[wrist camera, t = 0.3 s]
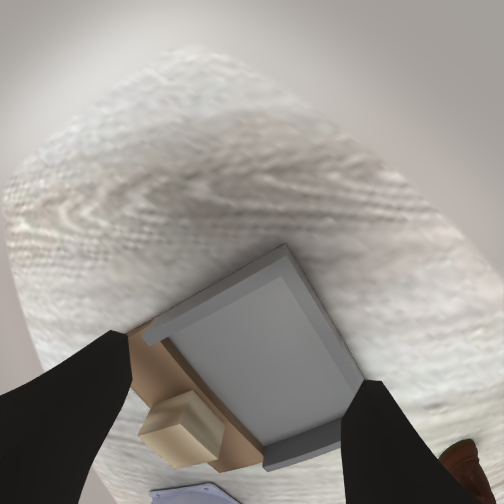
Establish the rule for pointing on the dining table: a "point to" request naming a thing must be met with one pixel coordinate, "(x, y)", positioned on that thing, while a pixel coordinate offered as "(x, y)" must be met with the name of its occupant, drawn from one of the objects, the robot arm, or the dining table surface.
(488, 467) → the dining table surface
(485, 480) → the chess piece
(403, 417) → the robot arm
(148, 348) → the walnut board
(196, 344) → the box
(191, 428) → the birch block
